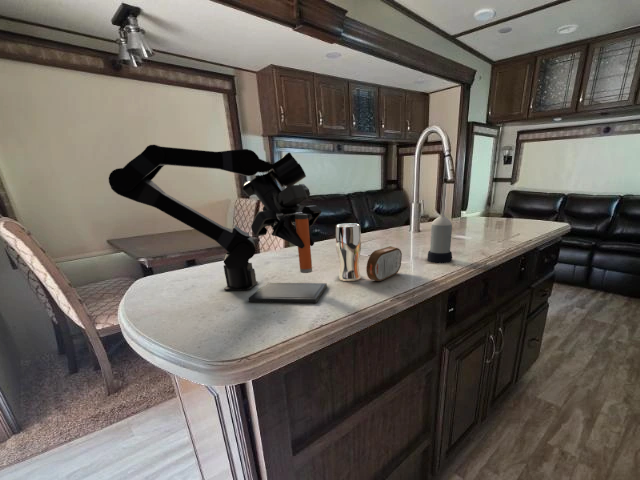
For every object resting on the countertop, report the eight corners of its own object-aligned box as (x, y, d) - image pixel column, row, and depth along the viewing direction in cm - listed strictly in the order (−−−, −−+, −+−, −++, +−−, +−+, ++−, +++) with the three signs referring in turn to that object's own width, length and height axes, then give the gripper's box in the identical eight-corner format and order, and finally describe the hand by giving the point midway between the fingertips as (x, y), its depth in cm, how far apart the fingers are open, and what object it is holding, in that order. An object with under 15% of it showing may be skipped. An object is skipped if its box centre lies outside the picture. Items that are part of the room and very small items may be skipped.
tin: (394, 270, 97) (394, 243, 94) (403, 272, 95) (404, 244, 92) (365, 283, 86) (364, 252, 83) (375, 285, 84) (374, 254, 81)
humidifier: (455, 259, 109) (462, 182, 100) (445, 264, 103) (451, 183, 94) (434, 256, 114) (438, 182, 105) (423, 261, 108) (426, 183, 99)
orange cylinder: (298, 273, 78) (293, 215, 73) (302, 269, 81) (297, 213, 76) (310, 273, 78) (305, 215, 73) (313, 270, 81) (309, 213, 76)
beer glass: (363, 275, 93) (362, 223, 88) (360, 282, 87) (359, 226, 82) (340, 274, 94) (337, 223, 89) (335, 281, 88) (332, 226, 82)
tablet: (248, 302, 74) (248, 297, 73) (268, 286, 85) (267, 282, 84) (316, 303, 72) (315, 298, 72) (326, 286, 83) (326, 282, 83)
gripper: (251, 171, 66) (293, 228, 64) (313, 172, 80) (349, 219, 79) (235, 209, 73) (272, 261, 71) (294, 203, 87) (327, 247, 85)
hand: (308, 246), depth 76 cm, fingers closed on orange cylinder, 3 cm apart
